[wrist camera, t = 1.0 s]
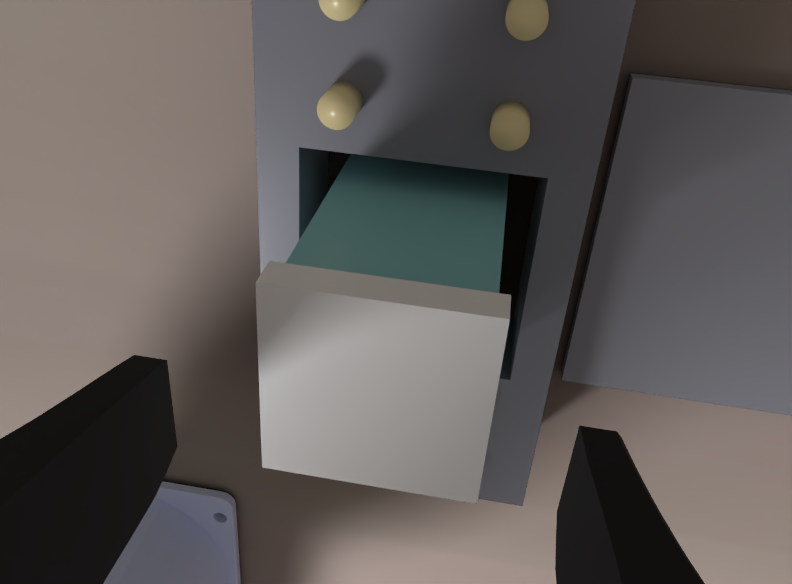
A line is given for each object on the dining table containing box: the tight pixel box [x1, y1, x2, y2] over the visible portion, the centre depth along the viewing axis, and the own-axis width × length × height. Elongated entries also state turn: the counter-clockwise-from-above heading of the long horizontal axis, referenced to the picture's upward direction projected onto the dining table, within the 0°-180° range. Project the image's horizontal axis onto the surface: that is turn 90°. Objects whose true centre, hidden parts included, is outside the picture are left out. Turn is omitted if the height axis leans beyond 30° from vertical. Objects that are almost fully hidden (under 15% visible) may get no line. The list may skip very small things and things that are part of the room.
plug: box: [255, 154, 511, 504], centre depth 17 cm, size 4×4×8 cm
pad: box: [561, 73, 792, 416], centre depth 20 cm, size 9×8×1 cm
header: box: [252, 0, 636, 506], centre depth 19 cm, size 14×8×4 cm, turn 176°
